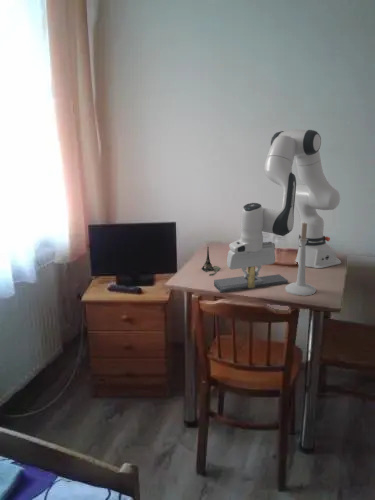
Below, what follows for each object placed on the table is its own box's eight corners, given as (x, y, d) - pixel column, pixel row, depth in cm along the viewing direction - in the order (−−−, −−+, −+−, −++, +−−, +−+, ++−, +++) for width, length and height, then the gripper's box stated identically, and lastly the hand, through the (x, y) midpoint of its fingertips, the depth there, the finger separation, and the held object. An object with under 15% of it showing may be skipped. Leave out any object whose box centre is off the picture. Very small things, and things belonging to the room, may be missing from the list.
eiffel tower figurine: (213, 277, 210) (213, 250, 206) (193, 274, 214) (193, 248, 210) (223, 267, 223) (223, 241, 219) (204, 264, 227) (204, 239, 223)
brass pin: (252, 284, 187) (253, 262, 184) (255, 287, 185) (256, 264, 182) (246, 285, 187) (246, 263, 183) (249, 288, 184) (249, 265, 181)
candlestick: (284, 294, 188) (288, 225, 179) (285, 283, 200) (288, 218, 191) (316, 297, 185) (321, 226, 176) (315, 285, 197) (320, 219, 188)
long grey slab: (279, 277, 207) (279, 271, 206) (287, 283, 200) (287, 277, 199) (214, 285, 199) (214, 280, 198) (220, 292, 191) (220, 286, 190)
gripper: (271, 239, 185) (270, 270, 190) (225, 244, 180) (225, 276, 184) (278, 243, 180) (277, 275, 184) (231, 249, 174) (231, 282, 179)
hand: (251, 276), depth 184 cm, fingers closed on brass pin, 3 cm apart
